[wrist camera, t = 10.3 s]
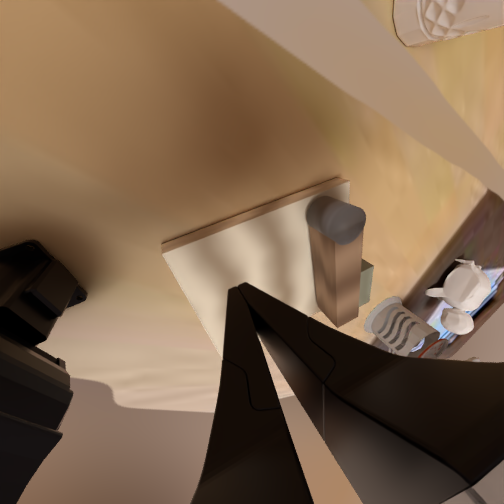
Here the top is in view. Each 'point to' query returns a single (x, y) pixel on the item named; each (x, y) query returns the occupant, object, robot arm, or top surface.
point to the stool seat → (255, 258)
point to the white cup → (444, 19)
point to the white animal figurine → (461, 295)
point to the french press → (405, 331)
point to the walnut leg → (336, 256)
